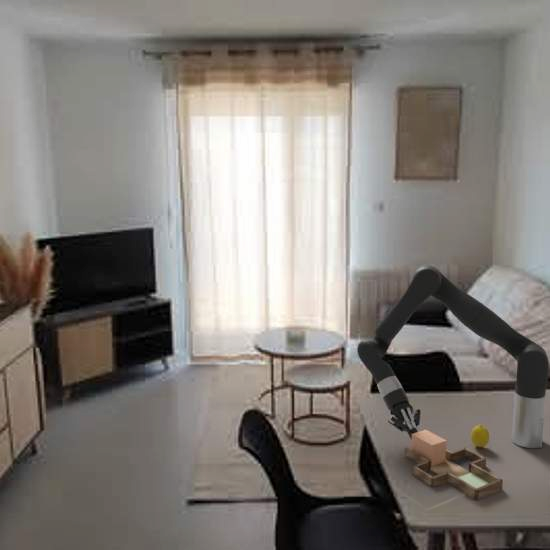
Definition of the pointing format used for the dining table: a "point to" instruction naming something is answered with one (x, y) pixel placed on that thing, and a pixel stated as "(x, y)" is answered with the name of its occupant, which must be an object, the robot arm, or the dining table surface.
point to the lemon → (480, 436)
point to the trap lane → (456, 472)
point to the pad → (473, 480)
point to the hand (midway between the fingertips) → (417, 440)
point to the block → (429, 446)
